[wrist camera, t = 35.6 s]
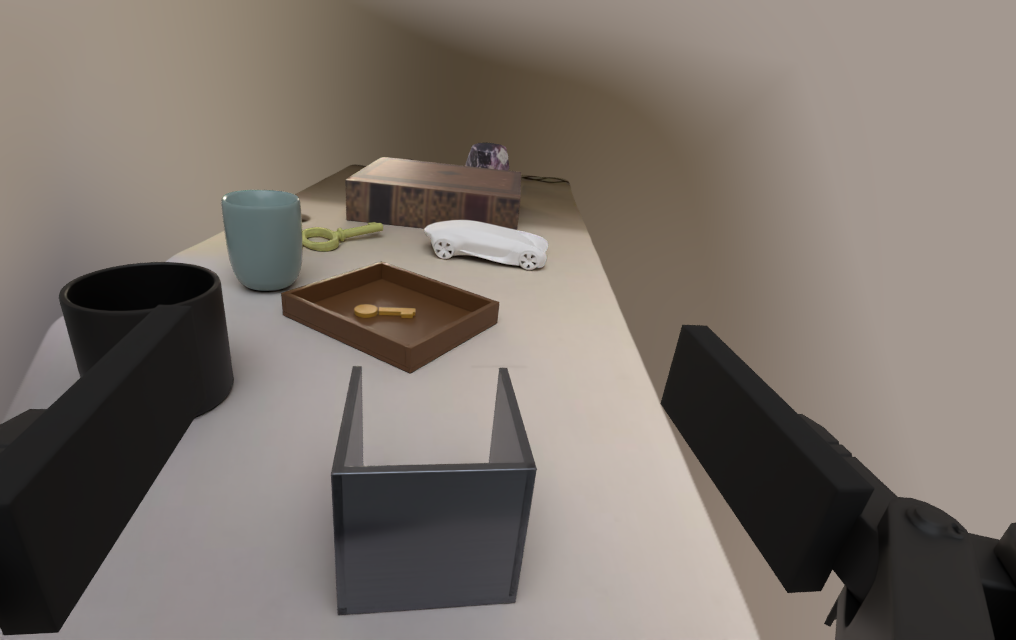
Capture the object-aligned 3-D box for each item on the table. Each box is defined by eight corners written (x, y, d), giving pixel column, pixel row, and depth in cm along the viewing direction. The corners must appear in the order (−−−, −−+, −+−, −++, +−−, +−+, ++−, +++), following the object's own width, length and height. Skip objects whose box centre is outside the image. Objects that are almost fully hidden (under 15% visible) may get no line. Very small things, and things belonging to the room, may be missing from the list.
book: (516, 237, 89) (520, 198, 86) (346, 220, 88) (345, 179, 86) (517, 204, 111) (521, 172, 108) (382, 189, 110) (382, 156, 108)
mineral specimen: (481, 183, 118) (475, 136, 117) (462, 191, 127) (456, 148, 126) (519, 181, 122) (514, 136, 121) (498, 190, 131) (493, 148, 130)
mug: (67, 467, 34) (28, 339, 30) (101, 371, 43) (75, 264, 39) (236, 438, 38) (220, 322, 34) (233, 356, 47) (220, 258, 43)
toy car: (546, 255, 82) (550, 226, 80) (544, 272, 75) (549, 241, 73) (431, 240, 83) (432, 211, 81) (418, 256, 76) (419, 224, 74)
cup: (234, 273, 64) (224, 188, 59) (304, 271, 66) (299, 190, 62) (228, 299, 57) (216, 206, 53) (306, 296, 60) (300, 207, 56)
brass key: (355, 303, 57) (355, 308, 57) (353, 313, 55) (353, 317, 55) (415, 305, 58) (415, 309, 59) (415, 314, 56) (415, 319, 56)
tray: (282, 315, 55) (280, 292, 54) (381, 280, 66) (381, 261, 65) (410, 373, 48) (410, 348, 47) (497, 322, 59) (499, 302, 58)
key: (386, 236, 82) (386, 223, 81) (320, 254, 73) (319, 238, 72) (353, 226, 86) (353, 212, 85) (286, 241, 76) (285, 226, 75)
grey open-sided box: (515, 602, 28) (537, 468, 24) (337, 615, 27) (330, 474, 23) (493, 482, 36) (507, 367, 32) (355, 486, 35) (352, 365, 31)
